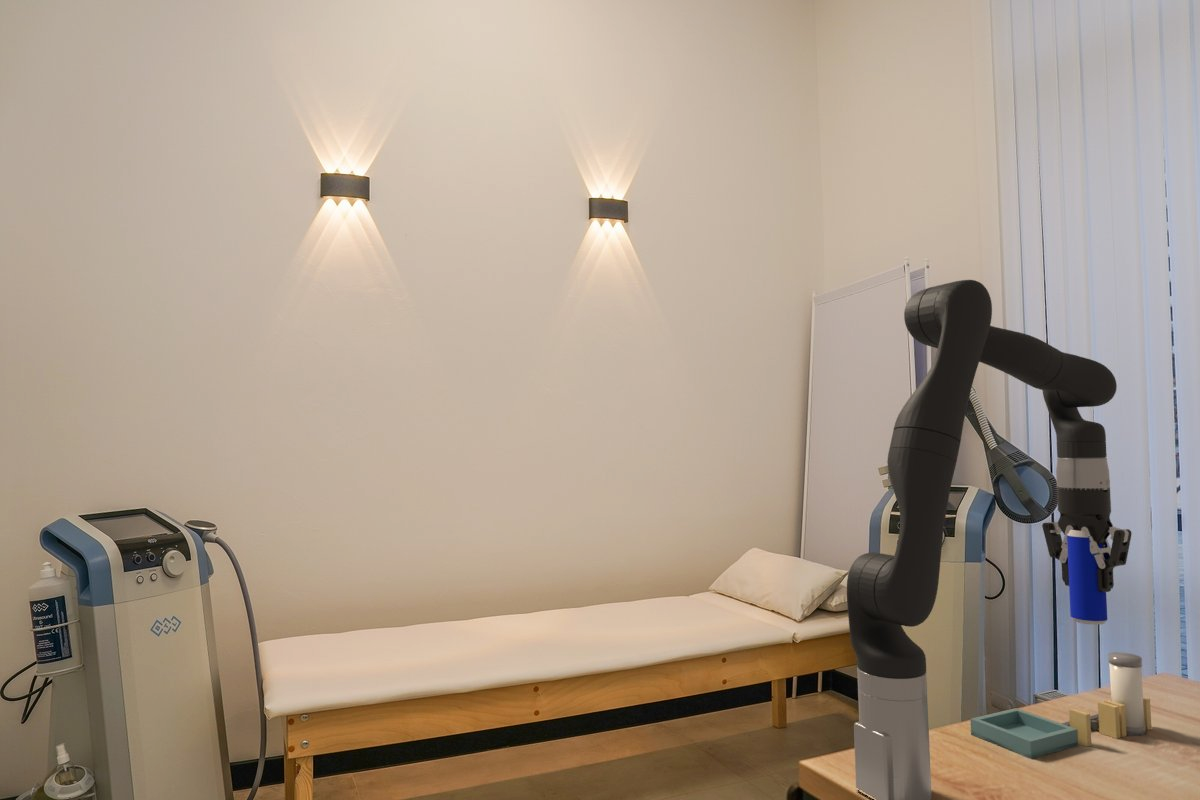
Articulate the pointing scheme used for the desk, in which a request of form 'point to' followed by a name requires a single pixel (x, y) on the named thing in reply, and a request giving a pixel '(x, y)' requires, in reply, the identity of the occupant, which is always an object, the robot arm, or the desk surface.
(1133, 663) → the fuse
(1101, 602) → the beverage can
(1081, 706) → the desk surface
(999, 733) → the tray
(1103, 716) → the fuse block
